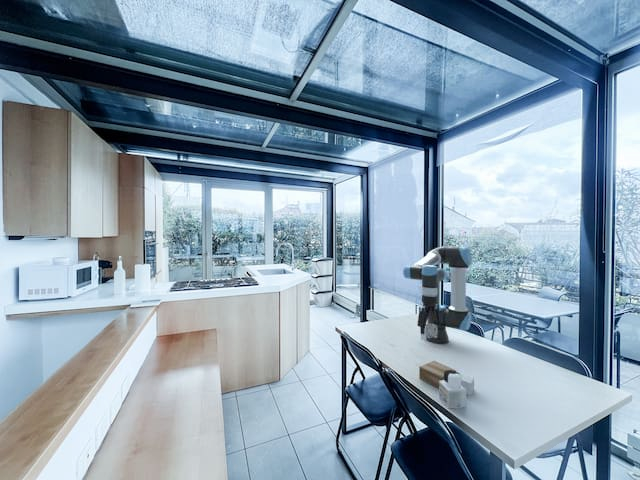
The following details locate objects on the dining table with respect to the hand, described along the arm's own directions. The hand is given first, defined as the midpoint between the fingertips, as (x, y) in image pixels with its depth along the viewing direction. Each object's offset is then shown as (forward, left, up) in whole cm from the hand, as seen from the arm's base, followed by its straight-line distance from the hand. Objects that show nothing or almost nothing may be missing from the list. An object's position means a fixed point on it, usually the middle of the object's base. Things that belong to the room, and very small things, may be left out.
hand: (429, 338), depth 136 cm
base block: (+3, +7, -18) cm, 20 cm away
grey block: (0, +19, -18) cm, 26 cm away
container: (+13, +21, -18) cm, 31 cm away
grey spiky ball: (0, 0, -1) cm, 1 cm away
